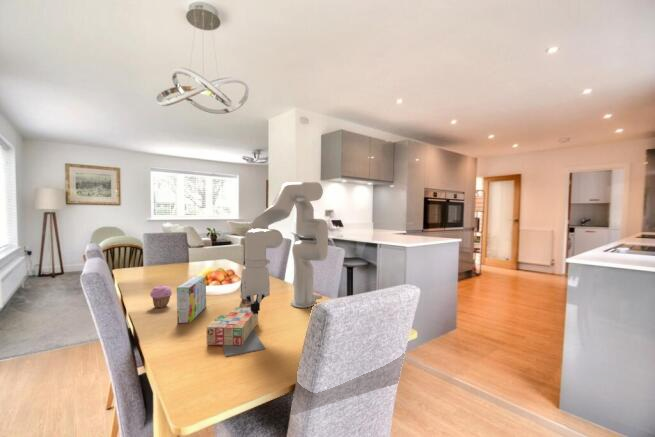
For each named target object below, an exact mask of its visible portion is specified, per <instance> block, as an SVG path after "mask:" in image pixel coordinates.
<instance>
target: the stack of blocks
mask: <svg viewBox="0 0 655 437" xmlns="http://www.w3.org/2000/svg"><path fill="white" fill-rule="evenodd" d="M258 323H259V313H258V314H253V313H252V312H251V308H250V307H244V308H239V307H235V308H234V309H232V310H231V312H230V313H229V314H219V316H217V317H216V318H215V319H214V320H212V321H211V322H210V323H209V325H207V326H206V345H208V346H222V345H233V346H242V345H243V343H244V342H245V340H246V339H247V337H248V336H249V334H250V333H251V331H252V330H253V329H254V328H256V326H257V324H258ZM254 330H255V329H254Z"/></svg>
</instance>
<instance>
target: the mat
mask: <svg viewBox="0 0 655 437" xmlns="http://www.w3.org/2000/svg"><path fill="white" fill-rule="evenodd" d="M221 346H222V350H223V352H224V356H225V357H226V358H227V357H228V358H229V357H233V356H237V355H243V354H249V353H254V352H257V351H263V350H266V347H265V346H264V343H263V342H262V340H261V338H260V337H259V336H258V334H257V332H256V330H255V329H253V330H252V331H251V333H250V334H249V336H248V337H247V339H246V340H245V342H244V343H243V345H242V346H233V345H221Z"/></svg>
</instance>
